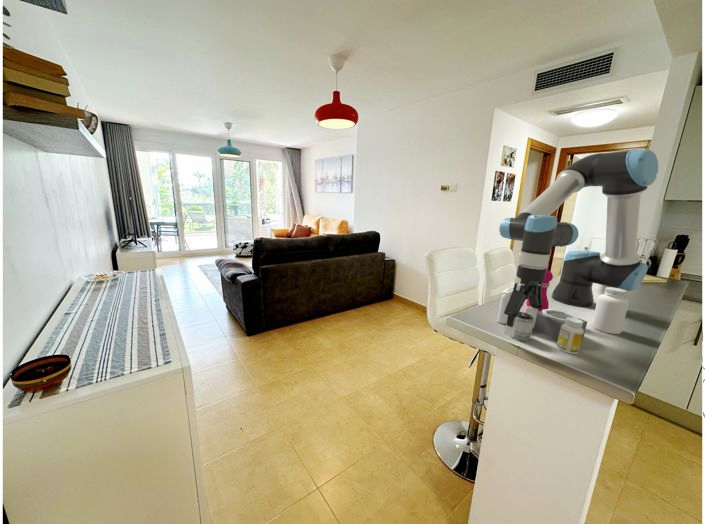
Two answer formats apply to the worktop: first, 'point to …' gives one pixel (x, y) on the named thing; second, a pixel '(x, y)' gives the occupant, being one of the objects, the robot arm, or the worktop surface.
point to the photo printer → (503, 305)
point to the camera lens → (523, 326)
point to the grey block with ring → (553, 322)
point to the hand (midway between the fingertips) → (519, 330)
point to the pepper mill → (544, 291)
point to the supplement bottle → (570, 336)
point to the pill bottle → (610, 311)
